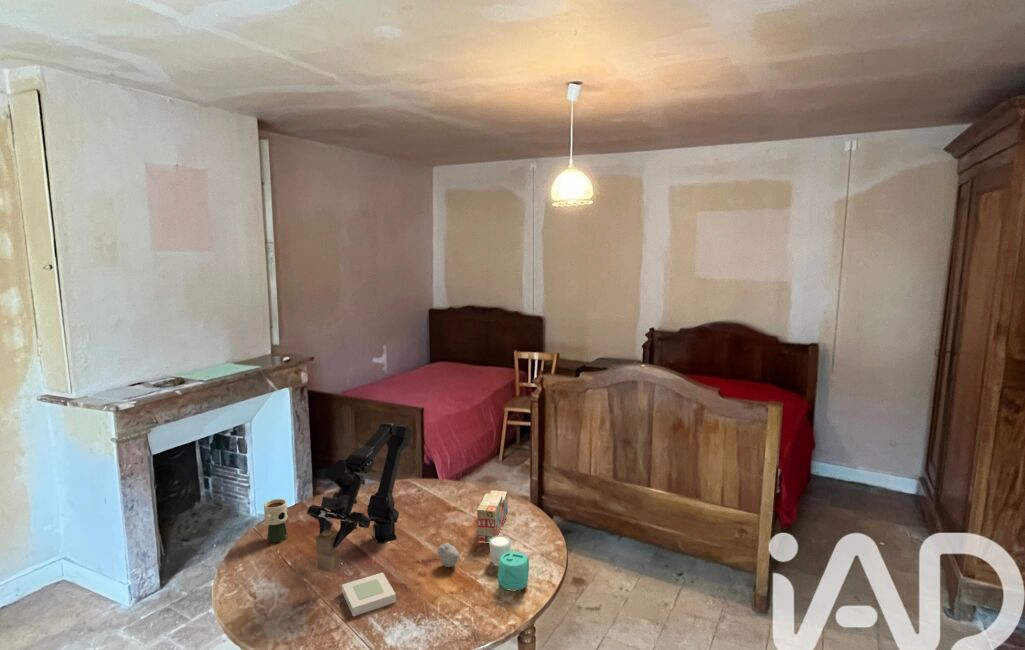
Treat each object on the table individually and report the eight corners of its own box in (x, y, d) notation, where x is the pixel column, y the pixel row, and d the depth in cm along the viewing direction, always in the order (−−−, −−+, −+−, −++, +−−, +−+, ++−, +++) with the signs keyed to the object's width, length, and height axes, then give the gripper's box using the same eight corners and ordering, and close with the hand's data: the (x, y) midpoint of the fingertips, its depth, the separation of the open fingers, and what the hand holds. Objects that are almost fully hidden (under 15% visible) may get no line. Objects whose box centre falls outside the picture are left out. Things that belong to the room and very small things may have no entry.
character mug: (279, 548, 184) (277, 511, 182) (259, 547, 184) (256, 510, 182) (295, 531, 195) (293, 496, 193) (275, 530, 195) (273, 495, 193)
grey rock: (444, 558, 178) (444, 537, 177) (463, 563, 175) (463, 542, 174) (433, 568, 172) (433, 547, 171) (453, 573, 169) (452, 552, 168)
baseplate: (383, 580, 166) (382, 572, 166) (396, 602, 156) (395, 593, 156) (342, 592, 160) (341, 584, 160) (353, 616, 150) (352, 607, 150)
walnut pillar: (327, 561, 164) (325, 527, 162) (340, 563, 162) (338, 530, 161) (318, 569, 160) (315, 535, 158) (331, 572, 158) (329, 538, 157)
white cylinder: (514, 558, 178) (514, 538, 177) (505, 569, 171) (505, 548, 170) (495, 553, 180) (495, 533, 179) (485, 564, 174) (485, 543, 173)
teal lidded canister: (524, 593, 160) (524, 567, 159) (497, 590, 162) (497, 564, 160) (529, 576, 168) (529, 552, 167) (503, 574, 169) (502, 549, 168)
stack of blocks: (491, 513, 208) (491, 482, 206) (508, 515, 206) (507, 483, 205) (477, 543, 187) (476, 509, 185) (495, 545, 186) (495, 510, 184)
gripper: (308, 479, 165) (285, 532, 156) (363, 487, 159) (342, 543, 151) (326, 492, 174) (305, 544, 165) (378, 501, 168) (360, 554, 159)
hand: (327, 546), depth 160 cm, fingers closed on walnut pillar, 4 cm apart
